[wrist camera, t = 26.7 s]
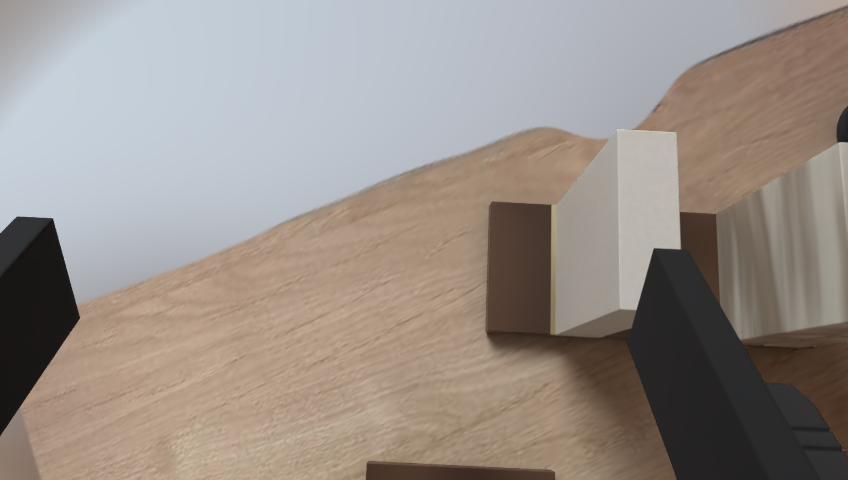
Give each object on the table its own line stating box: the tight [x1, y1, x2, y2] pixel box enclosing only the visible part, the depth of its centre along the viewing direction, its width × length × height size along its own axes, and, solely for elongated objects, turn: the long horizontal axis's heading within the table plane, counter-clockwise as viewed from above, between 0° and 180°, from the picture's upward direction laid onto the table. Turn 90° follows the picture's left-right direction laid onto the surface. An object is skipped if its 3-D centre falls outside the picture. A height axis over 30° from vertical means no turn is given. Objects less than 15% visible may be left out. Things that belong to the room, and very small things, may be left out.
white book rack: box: [486, 142, 848, 349], centre depth 41 cm, size 22×9×15 cm, turn 87°
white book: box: [555, 129, 681, 338], centre depth 40 cm, size 3×9×14 cm, turn 177°
